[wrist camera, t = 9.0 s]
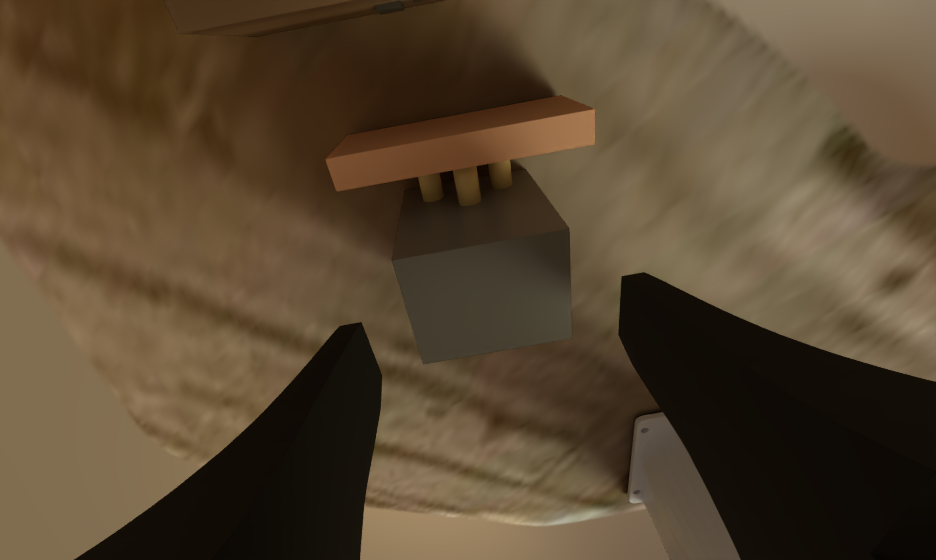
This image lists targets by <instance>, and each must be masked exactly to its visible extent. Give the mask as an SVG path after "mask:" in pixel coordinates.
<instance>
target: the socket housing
mask: <svg viewBox="0 0 936 560" xmlns="http://www.w3.org/2000/svg"><path fill="white" fill-rule="evenodd" d="M439 1H444V0H164V2H165V4H166V6H167V8H168V11H169V13H170V15H171V17H172V19H173V21H174V23H175V25H176V28H177V30H178V32H179V34H198V35H225V36H251V37H256V36H262V35H267V34H272V33H277V32H282V31H288V30H293V29H298V28H303V27H308V26H314V25H319V24H324V23H329V22H334V21H340V20H345V19H350V18H355V17H361V16H366V15H371V14H376V13H380V14H381V15H382V14H387V13H392V12H397V11H403V10H404V8H407V7H413V6H418V5H423V4H428V3H434V2H439Z"/></svg>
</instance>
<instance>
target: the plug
mask: <svg viewBox="0 0 936 560" xmlns="http://www.w3.org/2000/svg"><path fill="white" fill-rule="evenodd" d="M488 166H489V174H490V175H488V176H483V177H478V174H477V167H476V166H474V167H468V168H463V169H457V170H453V174H454V180H455V182H450V183H445V184H442V183H441V178H440V173H436V174H430V175H425V176H419V177H418V180H419V184H420V188H417V189H412V190H407V191H405V192H404V198H403V203H402V208H401V214H400V219H399V224H398V230H397V235H396V241H395V246H394V251H393V257H392V263H393V266H394V270H395V273H396V276H397V280H398V283H399V286H400V289H401V293H402V296H403V299H404V303H405V306H406V309H407V313H408V316H409V319H410V322H411V326H412V329H413V332H414V336H415V339H416V342H417V345H418V349H419V352H420V355H421V359H422V362H423V364H428V363H434V362H440V361H445V360H451V359H457V358H463V357H468V356H474V355H480V354H485V353H491V352H497V351H503V350H508V349H514V348H520V347H525V346H531V345H537V344H542V343H548V342H554V341H560V340H565V339H571V338H572V316H571V274H570V232H569V227H568V226H567V225H566V223H565V222H564V221H563V219H562V218H561V216H560V215H559V214H558V212H557V211H556V210H555V208H554V207H553V206H552V204H551V203H550V202H549V200H548V199H547V197H546V196H545V195H544V193H543V192H542V191H541V189H540V188H539V187H538V185H537V184H536V182H535V181H534V180H533V178H532V177H531V176H530V174H529V173H528V172H527V170H526V169H521V170H516V171H511V164H510V160H506V161H501V162H496V163H490V164H488Z"/></svg>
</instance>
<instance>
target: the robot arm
mask: <svg viewBox="0 0 936 560" xmlns="http://www.w3.org/2000/svg"><path fill="white" fill-rule="evenodd" d="M618 335H619V337H620V339H621V341H622V344H623V346H624V348H625V350H626V352H627V354H628V356H629V359H630V361H631V363H632V365H633V366H634V368H635V370H636V371H637V373H638V374H639V376H640V378H641V379H642V381H643V382H644V384H645V385H646V387H647V389H648V390H649V392H650V393H651V395H652V396H653V398H654V399H655V401H656V402H657V404H658V406H659V407H660V409H661V410H662V412H660V413H655V414H649V415H643V416H640V417H638V418H637V419H636V420H635V426H634V435H633V445H632V455H631V465H630V474H629V484H628V494H627V497H628V499H629V502H631V503H639V502H644V504H645V506H646V508H647V511H648V513H649V515H650V517H651V519H652V521H653V524H654V526H655V528H656V530H657V532H658V535H659V536H660V539H661V541H662V543H663V545H664V548H665V550H666V552H667V554H668V556H669V558H670V560H936V382H934V381H930V380H926V379H922V378H918V377H914V376H910V375H907V374H903V373H899V372H895V371H891V370H888V369H884V368H881V367H877V366H874V365H871V364H867V363H864V362H860V361H857V360H854V359H850V358H847V357H843V356H840V355H837V354H834V353H831V352H828V351H825V350H822V349H819V348H816V347H813V346H810V345H808V344H805V343H802V342H799V341H796V340H794V339H791V338H788V337H785V336H782V335H780V334H777V333H775V332H772V331H770V330H767V329H765V328H762V327H760V326H758V325H755V324H753V323H751V322H748V321H746V320H744V319H741V318H739V317H737V316H734V315H732V314H730V313H728V312H726V311H723V310H721V309H719V308H717V307H715V306H713V305H711V304H709V303H706V302H704V301H702V300H700V299H698V298H696V297H694V296H692V295H690V294H688V293H686V292H684V291H682V290H680V289H678V288H676V287H674V286H672V285H670V284H668V283H666V282H664V281H662V280H660V279H658V278H656V277H654V276H651V275H649V274H647V273H644V272H643V273H638V274H632V275H626V276H622V279H621V297H620V315H619V333H618ZM381 392H382V374H381V371H380V369H379V366H378V364H377V361H376V359H375V356H374V353H373V351H372V348H371V346H370V343H369V340H368V338H367V335H366V333H365V330H364V327H363V325H362V322H360V323H354V324H348V325H343V326H339V327H338V329H337V330H336V331H335V332H334V333H333V334H332V335H331V336H330V338H329V339H328V340H327V341H326V342H325V343H324V345H323V346H322V347H321V348H320V349H319V351H318V352H317V353H316V354H315V355H314V357H313V358H312V359H311V360H310V361H309V362H308V364H307V365H306V366H305V367H304V368H303V369H302V371H301V372H300V373H299V374H298V375H297V376H296V377H295V379H294V380H293V381H292V382H291V383H290V384H289V385H288V386H287V387H286V388H285V389H284V390H283V392H282V393H281V394H280V395H279V396H278V397H277V398H276V399H275V400H274V401H273V402H272V403H271V404H270V405H269V406H268V408H267V409H266V410H265V411H264V412H263V413H262V414H261V415H260V416H259V417H258V418H257V419H256V420H255V421H254V422H253V423H252V424H250V425H249V426H248V427H247V428H246V429H245V430H244V431H243V432H242V433H241V434H240V435H239V436H238V437H236V438H235V439H234V440H233V441H232V442H231V443H230V444H229V445H228V446H227V447H225V448H224V449H223V450H222V451H221V452H220V453H219V454H217V455H216V456H215V457H214V458H212V459H211V460H210V461H209V462H207V463H206V464H205V465H204V466H203V467H201V468H200V469H199V470H198V471H196V472H195V473H194V474H193V475H192V476H190V477H189V478H188V479H187V480H185V481H184V482H183V483H182V484H181V485H179V486H178V487H177V488H176V489H174V490H173V491H172V492H170V493H169V494H168V495H166V496H165V497H164V498H162V499H161V500H160V501H158V502H157V503H156V504H155V505H153V506H152V507H151V508H149V509H148V510H146V511H145V512H143V513H142V514H141V515H139V516H138V517H136V518H135V519H134V520H132V521H131V522H129V523H128V524H127V525H125V526H124V527H122V528H121V529H120V530H118V531H117V532H115V533H114V534H112V535H111V536H109V537H108V538H106V539H105V540H103V541H102V542H100V543H99V544H97V545H96V546H95V547H93V548H91V549H90V550H88V551H87V552H85V553H84V554H82V555H81V556H79V557H78V558H76V559H74V560H360V551H361V538H362V525H363V512H364V503H365V496H366V489H367V483H368V477H369V472H370V466H371V461H372V455H373V450H374V444H375V439H376V433H377V427H378V421H379V416H380V409H381Z"/></svg>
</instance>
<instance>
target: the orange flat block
mask: <svg viewBox="0 0 936 560" xmlns="http://www.w3.org/2000/svg"><path fill="white" fill-rule="evenodd" d="M593 144H595V109H594V108H591V107H589V106H586V105H584V104H581V103H579V102H576V101H574V100H571V99H569V98H566V97H564V96H562V95H560V96H555V97H550V98H544V99H539V100H533V101H528V102H523V103H517V104H512V105H507V106H501V107H496V108H491V109H485V110H480V111H474V112H469V113H464V114H458V115H453V116H448V117H442V118H437V119H432V120H426V121H421V122H415V123H410V124H405V125H399V126H394V127H389V128H383V129H378V130H372V131H367V132H362V133H356V134H351V135H347V136H346V137H345V138H344V139H343V141H342V142H341V143H340V144H339V145H338V146H337V147H336V148H335V149H334V150H333V151H332V152H331V153H330V154H329V156H328V157H327V158H326V159H325V160H326V163H327V166H328V169H329V171H330V174H331V177H332V180H333V183H334V186H335V189H336V191H337V192H338V191H343V190H349V189H354V188H359V187H365V186H370V185H376V184H381V183H387V182H392V181H398V180H403V179H408V178H414V177H419V176H425V175H430V174H436V173H441V172H447V171H452V170H457V169H463V168H468V167H474V166H479V165H485V164H490V163H496V162H501V161H506V160H512V159H517V158H523V157H528V156H534V155H539V154H545V153H550V152H555V151H561V150H566V149H572V148H577V147H583V146H588V145H593Z"/></svg>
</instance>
